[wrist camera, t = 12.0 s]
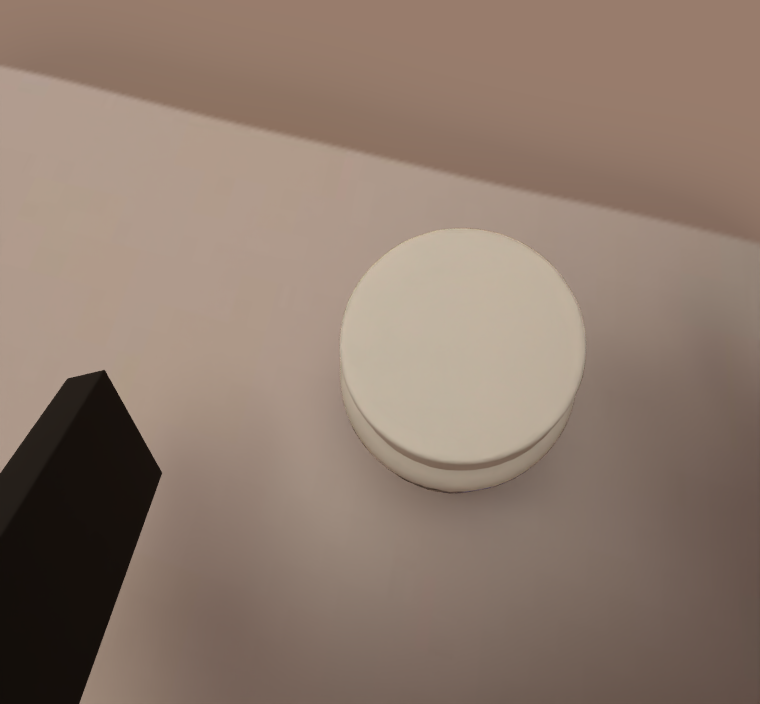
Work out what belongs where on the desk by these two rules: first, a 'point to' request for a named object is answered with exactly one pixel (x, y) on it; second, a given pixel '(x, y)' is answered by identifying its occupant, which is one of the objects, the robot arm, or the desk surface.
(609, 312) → the desk surface
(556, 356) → the pill bottle
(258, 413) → the desk surface
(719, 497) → the desk surface
